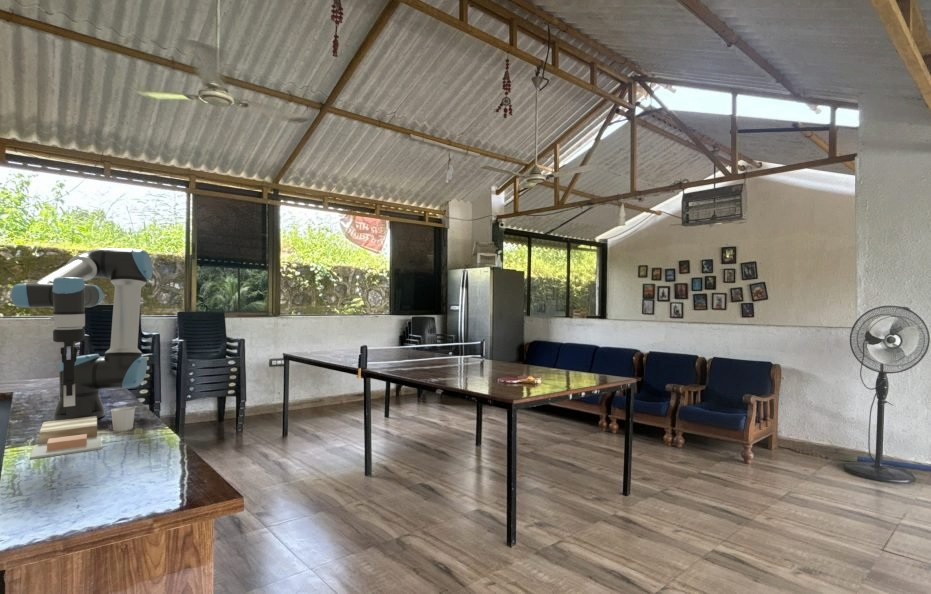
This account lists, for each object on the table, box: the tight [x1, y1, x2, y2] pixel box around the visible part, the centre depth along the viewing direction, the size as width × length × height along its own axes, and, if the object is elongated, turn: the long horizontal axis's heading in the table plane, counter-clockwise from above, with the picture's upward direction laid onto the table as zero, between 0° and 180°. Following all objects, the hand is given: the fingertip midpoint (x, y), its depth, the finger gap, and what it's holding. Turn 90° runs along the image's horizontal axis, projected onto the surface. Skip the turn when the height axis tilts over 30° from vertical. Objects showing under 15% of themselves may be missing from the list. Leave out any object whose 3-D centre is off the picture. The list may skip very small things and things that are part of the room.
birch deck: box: [38, 416, 98, 445], centre depth 160 cm, size 16×14×4 cm
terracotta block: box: [47, 434, 87, 451], centre depth 147 cm, size 6×9×2 cm, turn 127°
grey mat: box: [29, 436, 103, 460], centre depth 147 cm, size 14×16×1 cm
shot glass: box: [110, 406, 136, 432], centre depth 169 cm, size 7×7×7 cm
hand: (69, 405), depth 150 cm, fingers closed
